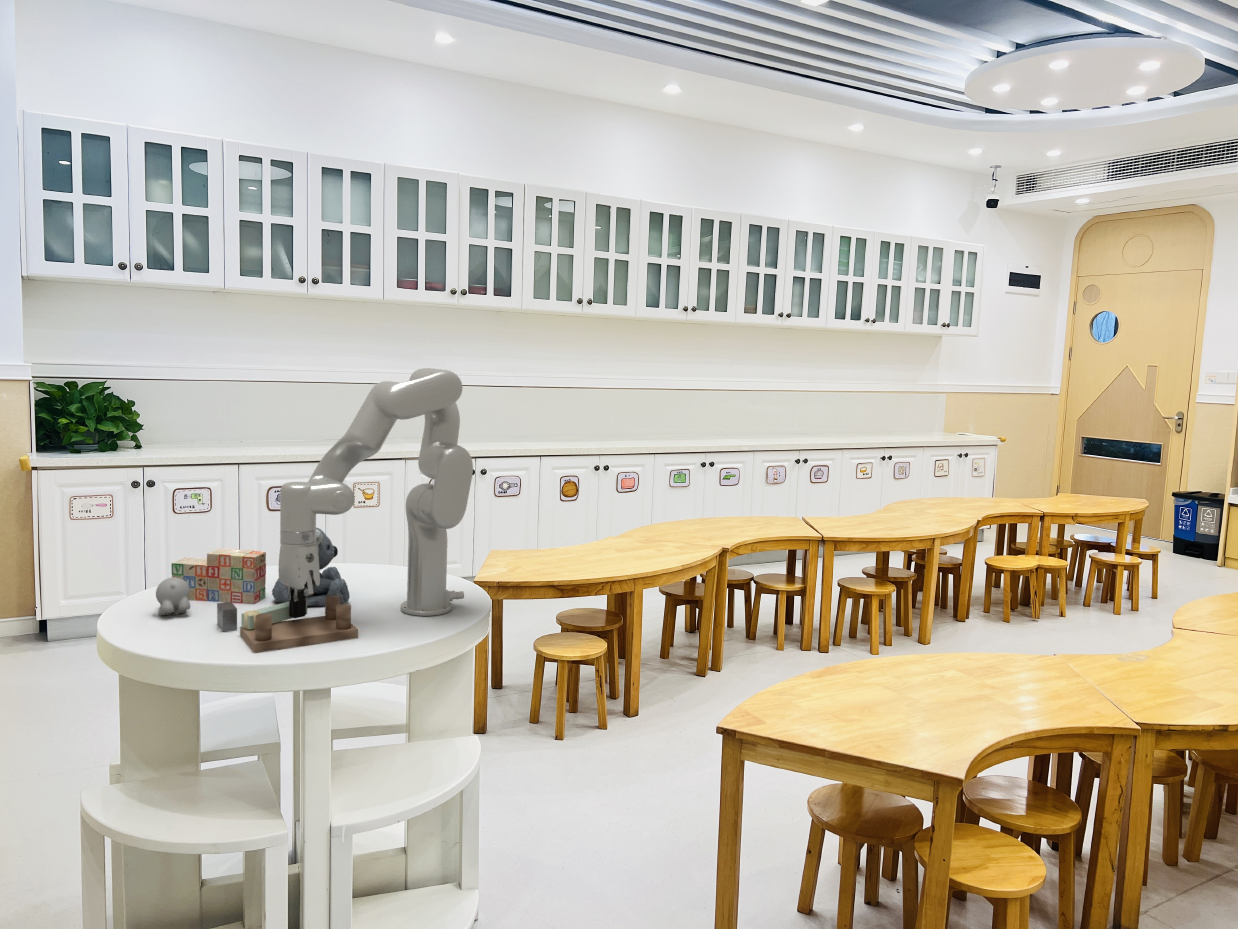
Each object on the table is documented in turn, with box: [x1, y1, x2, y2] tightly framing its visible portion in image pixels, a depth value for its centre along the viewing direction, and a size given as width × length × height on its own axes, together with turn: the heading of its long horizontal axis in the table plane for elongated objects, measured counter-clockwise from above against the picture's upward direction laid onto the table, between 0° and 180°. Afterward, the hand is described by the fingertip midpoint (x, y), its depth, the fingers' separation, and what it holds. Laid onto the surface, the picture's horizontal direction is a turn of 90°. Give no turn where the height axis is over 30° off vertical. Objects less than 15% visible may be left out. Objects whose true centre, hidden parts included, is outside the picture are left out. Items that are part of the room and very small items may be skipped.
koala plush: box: [271, 526, 350, 608], centre depth 221 cm, size 17×18×20 cm
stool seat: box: [239, 595, 359, 654], centre depth 194 cm, size 22×13×7 cm, turn 125°
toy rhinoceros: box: [155, 576, 191, 616], centre depth 207 cm, size 7×12×8 cm, turn 35°
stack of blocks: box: [171, 548, 267, 605], centre depth 220 cm, size 21×6×12 cm, turn 86°
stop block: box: [216, 602, 238, 633], centre depth 198 cm, size 3×6×5 cm, turn 35°
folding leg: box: [240, 601, 308, 629], centre depth 198 cm, size 15×3×3 cm, turn 148°
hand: (297, 616), depth 199 cm, fingers closed
